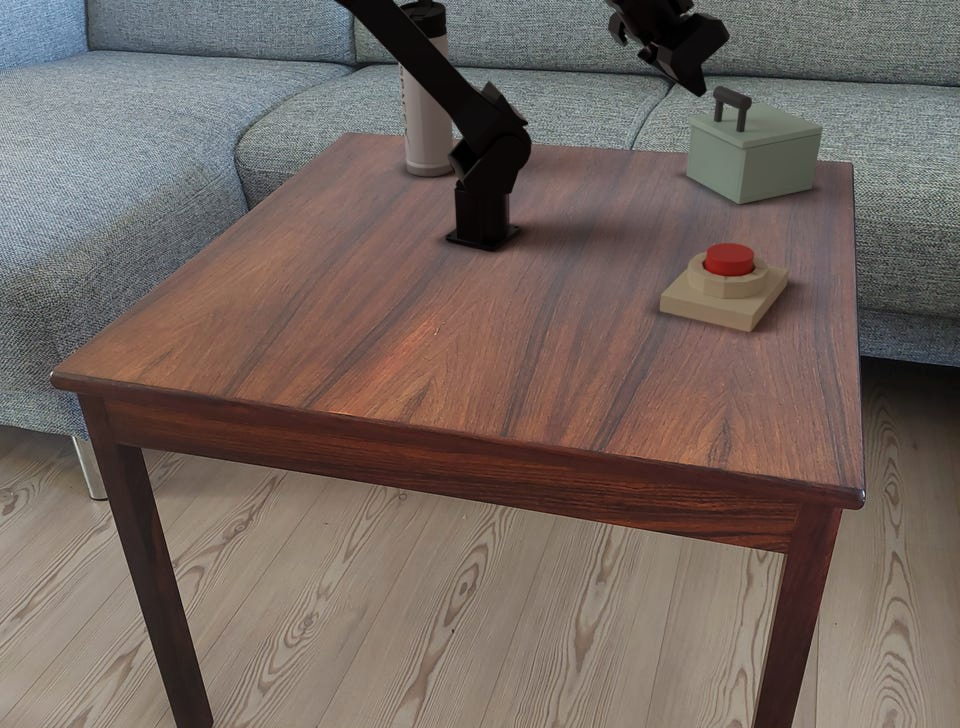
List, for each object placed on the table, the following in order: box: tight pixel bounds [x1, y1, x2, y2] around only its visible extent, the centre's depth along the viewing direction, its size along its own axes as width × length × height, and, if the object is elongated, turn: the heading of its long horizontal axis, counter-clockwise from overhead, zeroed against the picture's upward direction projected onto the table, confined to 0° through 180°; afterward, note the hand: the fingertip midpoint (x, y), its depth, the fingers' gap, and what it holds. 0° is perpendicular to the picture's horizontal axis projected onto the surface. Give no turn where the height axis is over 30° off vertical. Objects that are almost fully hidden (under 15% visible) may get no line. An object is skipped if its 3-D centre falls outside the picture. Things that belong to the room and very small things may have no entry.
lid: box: [687, 85, 824, 149], centre depth 111 cm, size 11×11×5 cm
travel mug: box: [398, 0, 454, 178], centre depth 118 cm, size 6×7×20 cm
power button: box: [705, 242, 755, 277], centre depth 89 cm, size 4×4×2 cm
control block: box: [659, 251, 790, 333], centre depth 90 cm, size 11×9×4 cm
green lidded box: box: [685, 124, 823, 205], centre depth 114 cm, size 11×11×7 cm
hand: (702, 93), depth 101 cm, fingers closed
